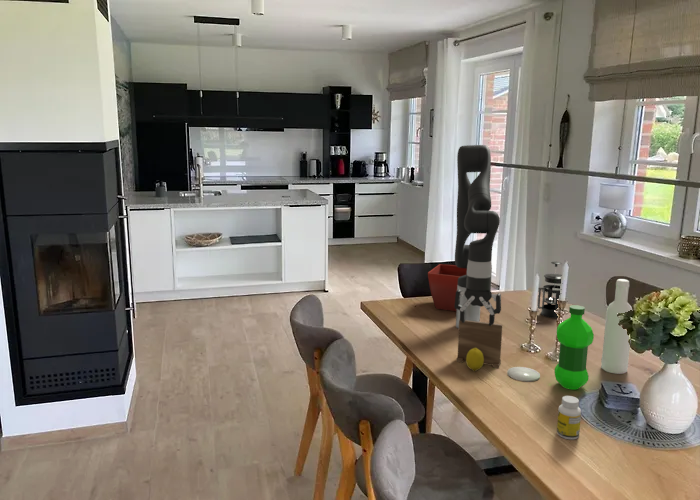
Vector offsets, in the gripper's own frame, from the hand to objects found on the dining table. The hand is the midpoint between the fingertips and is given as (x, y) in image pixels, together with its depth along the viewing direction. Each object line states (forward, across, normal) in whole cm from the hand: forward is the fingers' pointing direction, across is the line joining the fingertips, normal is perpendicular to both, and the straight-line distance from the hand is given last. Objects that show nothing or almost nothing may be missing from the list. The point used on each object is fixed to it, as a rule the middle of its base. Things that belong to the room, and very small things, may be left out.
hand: (476, 323), depth 180 cm
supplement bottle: (+16, -29, +31) cm, 45 cm away
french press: (+16, -20, -72) cm, 76 cm away
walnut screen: (+16, 0, -8) cm, 18 cm away
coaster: (+16, -15, -3) cm, 22 cm away
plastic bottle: (+16, -29, 0) cm, 33 cm away
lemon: (+16, 0, 0) cm, 16 cm away
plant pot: (+16, +21, -67) cm, 72 cm away
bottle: (+16, -42, -19) cm, 49 cm away
